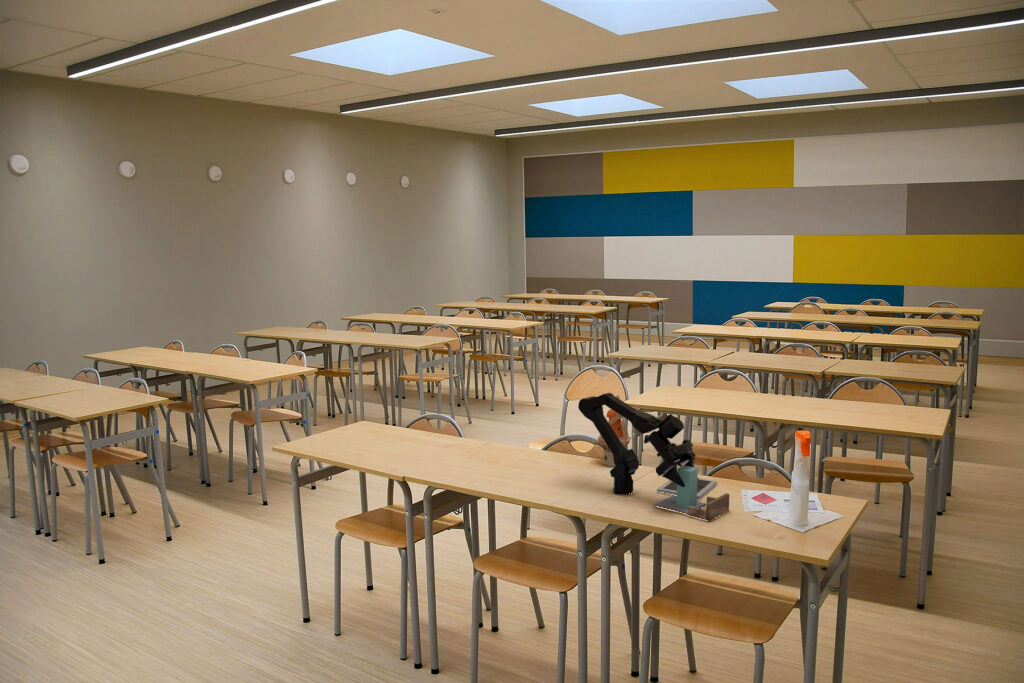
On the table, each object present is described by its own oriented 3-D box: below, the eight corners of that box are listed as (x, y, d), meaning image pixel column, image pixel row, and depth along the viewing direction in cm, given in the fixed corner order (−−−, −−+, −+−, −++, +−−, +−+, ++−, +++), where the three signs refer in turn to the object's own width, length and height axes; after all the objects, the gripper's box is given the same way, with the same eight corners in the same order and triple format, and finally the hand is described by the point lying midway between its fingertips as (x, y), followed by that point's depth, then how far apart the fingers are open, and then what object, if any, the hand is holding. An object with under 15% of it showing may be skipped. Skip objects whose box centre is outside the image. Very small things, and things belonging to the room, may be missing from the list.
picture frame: (677, 479, 301) (657, 494, 284) (677, 472, 301) (657, 486, 284) (717, 486, 293) (699, 501, 276) (717, 479, 293) (699, 494, 275)
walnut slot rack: (687, 516, 259) (688, 499, 258) (708, 505, 270) (708, 489, 269) (709, 522, 254) (709, 504, 253) (728, 511, 265) (729, 494, 264)
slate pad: (653, 507, 268) (653, 504, 268) (672, 497, 278) (672, 495, 278) (687, 515, 260) (687, 512, 260) (705, 506, 270) (705, 503, 269)
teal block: (676, 505, 267) (677, 468, 266) (683, 501, 271) (684, 465, 269) (689, 508, 264) (690, 471, 262) (696, 505, 268) (697, 468, 266)
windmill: (615, 473, 308) (617, 398, 304) (585, 466, 317) (586, 394, 313) (638, 463, 321) (640, 392, 317) (608, 457, 330) (610, 388, 326)
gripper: (664, 438, 260) (693, 476, 254) (691, 428, 274) (719, 464, 268) (643, 456, 266) (671, 494, 260) (671, 446, 280) (697, 482, 274)
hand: (690, 483), depth 265 cm, fingers open, 9 cm apart
